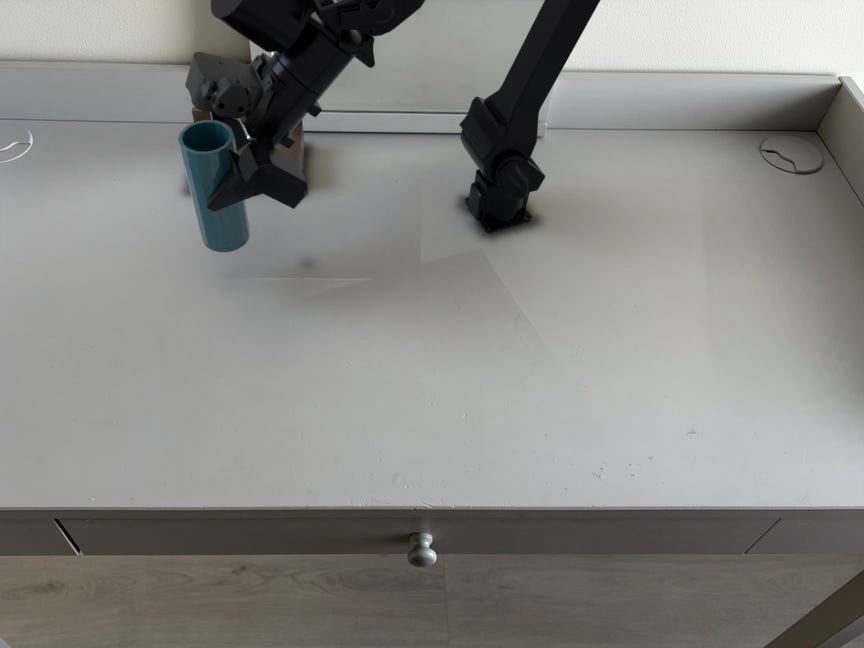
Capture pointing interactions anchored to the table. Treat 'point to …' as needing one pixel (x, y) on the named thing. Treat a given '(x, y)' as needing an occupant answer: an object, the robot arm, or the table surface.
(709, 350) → the table surface
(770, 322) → the table surface
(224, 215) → the teal cylindrical vase
